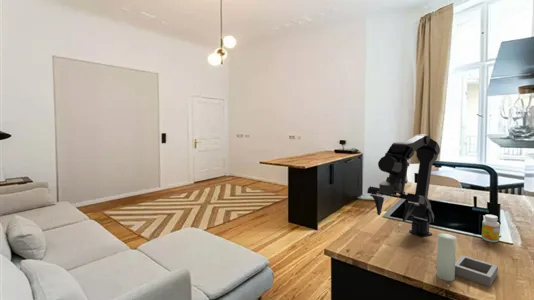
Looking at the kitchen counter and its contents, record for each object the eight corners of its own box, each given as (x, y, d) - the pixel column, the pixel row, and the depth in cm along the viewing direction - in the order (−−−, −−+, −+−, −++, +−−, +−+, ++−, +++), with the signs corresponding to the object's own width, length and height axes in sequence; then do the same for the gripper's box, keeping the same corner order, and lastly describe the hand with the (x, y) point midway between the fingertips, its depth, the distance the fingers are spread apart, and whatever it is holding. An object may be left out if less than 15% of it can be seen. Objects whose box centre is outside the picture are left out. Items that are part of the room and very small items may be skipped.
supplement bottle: (478, 237, 112) (479, 214, 111) (490, 236, 113) (491, 213, 112) (489, 242, 107) (491, 218, 106) (502, 241, 107) (503, 218, 106)
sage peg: (443, 271, 88) (445, 232, 87) (458, 279, 84) (460, 238, 82) (432, 274, 87) (434, 235, 85) (446, 282, 82) (448, 241, 81)
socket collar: (461, 263, 92) (462, 255, 92) (497, 274, 85) (497, 265, 85) (452, 273, 86) (453, 264, 86) (490, 287, 79) (490, 277, 79)
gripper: (363, 169, 102) (356, 210, 101) (415, 176, 88) (408, 224, 87) (377, 174, 109) (371, 212, 108) (428, 181, 95) (421, 225, 94)
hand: (390, 218), depth 99 cm, fingers open, 9 cm apart
